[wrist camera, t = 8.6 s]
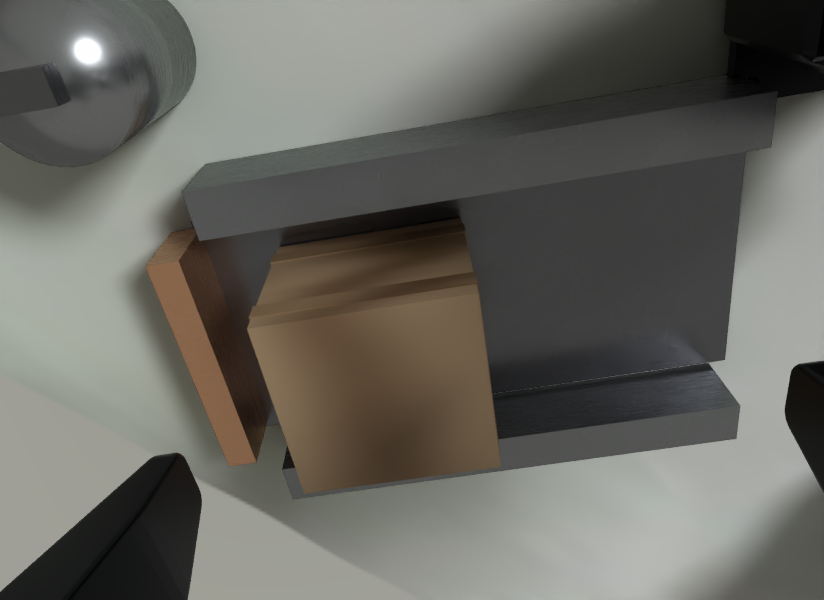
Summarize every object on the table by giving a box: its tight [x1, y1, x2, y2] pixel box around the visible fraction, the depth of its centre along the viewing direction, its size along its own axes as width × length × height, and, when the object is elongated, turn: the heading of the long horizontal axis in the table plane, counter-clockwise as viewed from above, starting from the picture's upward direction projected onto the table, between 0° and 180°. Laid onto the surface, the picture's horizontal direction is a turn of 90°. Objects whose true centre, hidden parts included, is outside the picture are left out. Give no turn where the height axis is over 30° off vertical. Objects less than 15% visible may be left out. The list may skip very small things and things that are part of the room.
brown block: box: [247, 218, 501, 494], centre depth 20 cm, size 6×6×5 cm
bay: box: [0, 0, 778, 499], centre depth 18 cm, size 20×17×6 cm
